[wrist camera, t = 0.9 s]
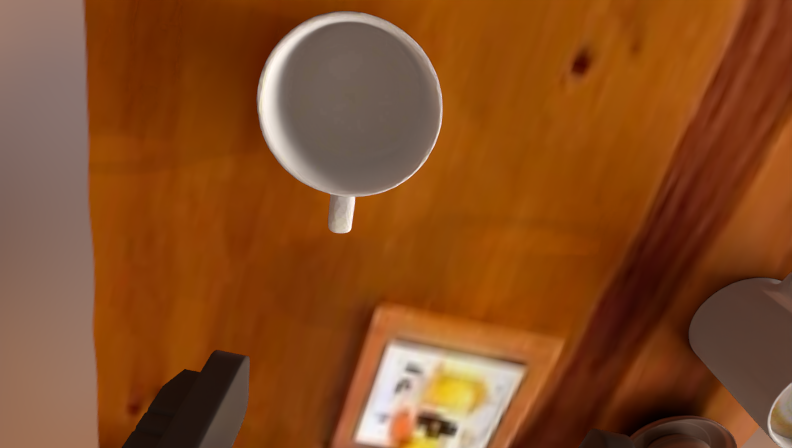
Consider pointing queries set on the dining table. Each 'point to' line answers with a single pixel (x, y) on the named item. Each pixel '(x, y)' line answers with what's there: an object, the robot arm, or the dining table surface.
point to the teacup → (349, 107)
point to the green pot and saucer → (683, 434)
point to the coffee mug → (751, 349)
